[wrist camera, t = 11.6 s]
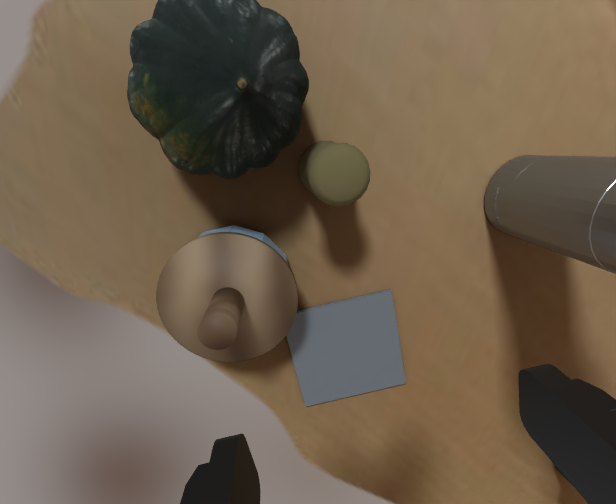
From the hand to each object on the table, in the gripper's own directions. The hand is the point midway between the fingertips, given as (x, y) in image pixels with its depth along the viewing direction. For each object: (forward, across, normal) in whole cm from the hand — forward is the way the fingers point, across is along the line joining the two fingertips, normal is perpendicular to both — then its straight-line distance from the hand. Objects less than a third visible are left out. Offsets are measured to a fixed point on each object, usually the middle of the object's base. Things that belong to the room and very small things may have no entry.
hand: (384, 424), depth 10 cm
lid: (+24, +10, +5) cm, 27 cm away
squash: (+30, +5, -14) cm, 34 cm away
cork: (+30, -3, -5) cm, 31 cm away
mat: (+30, -1, +18) cm, 35 cm away
